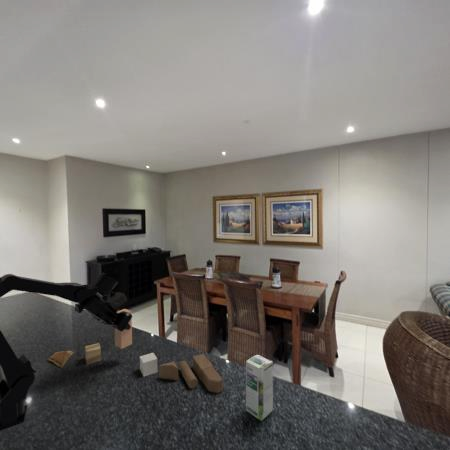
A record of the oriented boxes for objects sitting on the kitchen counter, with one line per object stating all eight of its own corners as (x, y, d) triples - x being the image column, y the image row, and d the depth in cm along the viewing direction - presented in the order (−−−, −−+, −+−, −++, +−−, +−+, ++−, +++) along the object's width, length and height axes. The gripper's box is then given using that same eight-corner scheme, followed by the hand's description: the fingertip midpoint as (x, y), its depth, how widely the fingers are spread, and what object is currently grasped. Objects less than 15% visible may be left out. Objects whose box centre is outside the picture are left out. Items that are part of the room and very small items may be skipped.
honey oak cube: (100, 360, 99) (100, 348, 99) (86, 364, 96) (86, 351, 96) (99, 354, 103) (99, 342, 103) (85, 358, 100) (85, 346, 100)
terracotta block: (121, 348, 94) (120, 314, 94) (115, 345, 96) (114, 312, 96) (132, 344, 97) (131, 311, 97) (125, 340, 100) (124, 308, 100)
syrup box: (245, 410, 72) (244, 361, 71) (258, 400, 76) (257, 353, 75) (261, 422, 67) (260, 369, 67) (273, 410, 72) (273, 360, 71)
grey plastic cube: (157, 372, 91) (157, 358, 90) (143, 377, 88) (143, 363, 88) (153, 365, 95) (153, 352, 95) (140, 369, 92) (139, 356, 92)
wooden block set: (202, 349, 96) (223, 375, 80) (202, 364, 96) (223, 392, 80) (158, 361, 88) (171, 392, 72) (158, 377, 88) (171, 411, 72)
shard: (62, 369, 94) (62, 364, 94) (39, 371, 92) (39, 367, 92) (73, 354, 104) (73, 349, 104) (53, 356, 103) (53, 351, 103)
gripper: (126, 291, 88) (153, 312, 97) (100, 283, 99) (126, 303, 108) (105, 321, 82) (135, 341, 91) (79, 309, 93) (108, 328, 102)
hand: (126, 326), depth 98 cm, fingers closed on terracotta block, 4 cm apart
